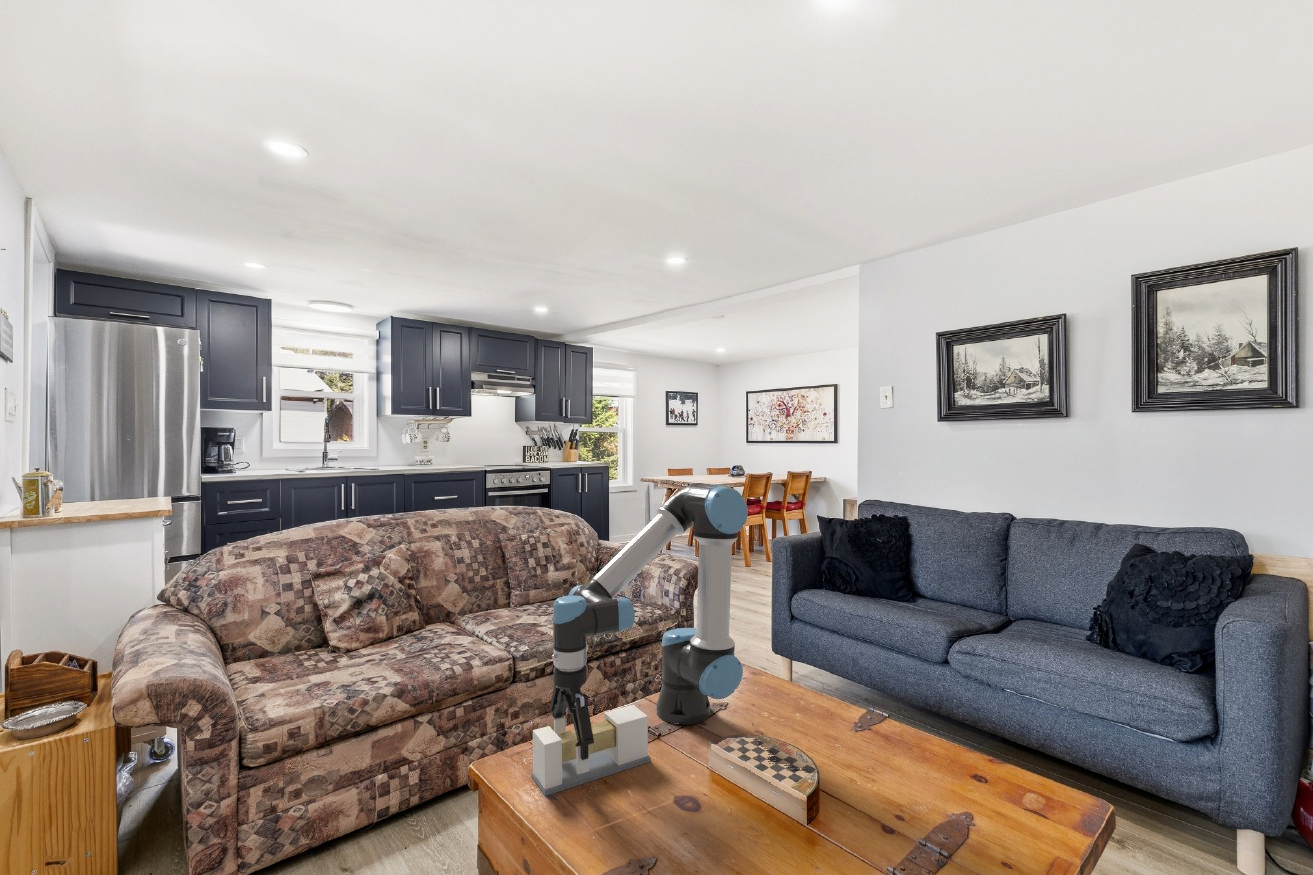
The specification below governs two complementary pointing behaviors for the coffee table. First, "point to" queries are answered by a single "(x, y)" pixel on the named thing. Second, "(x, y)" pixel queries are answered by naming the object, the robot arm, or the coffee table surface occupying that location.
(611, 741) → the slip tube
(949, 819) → the coffee table surface
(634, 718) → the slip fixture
